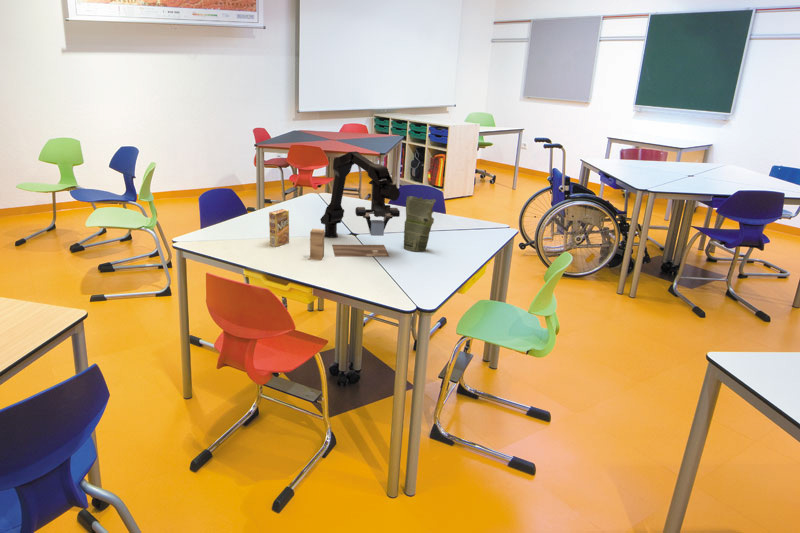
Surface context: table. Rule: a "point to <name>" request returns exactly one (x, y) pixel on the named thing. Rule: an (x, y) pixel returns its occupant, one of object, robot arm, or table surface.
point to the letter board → (360, 251)
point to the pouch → (418, 223)
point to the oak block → (317, 244)
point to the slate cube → (377, 228)
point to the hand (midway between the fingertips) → (376, 231)
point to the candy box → (279, 227)
